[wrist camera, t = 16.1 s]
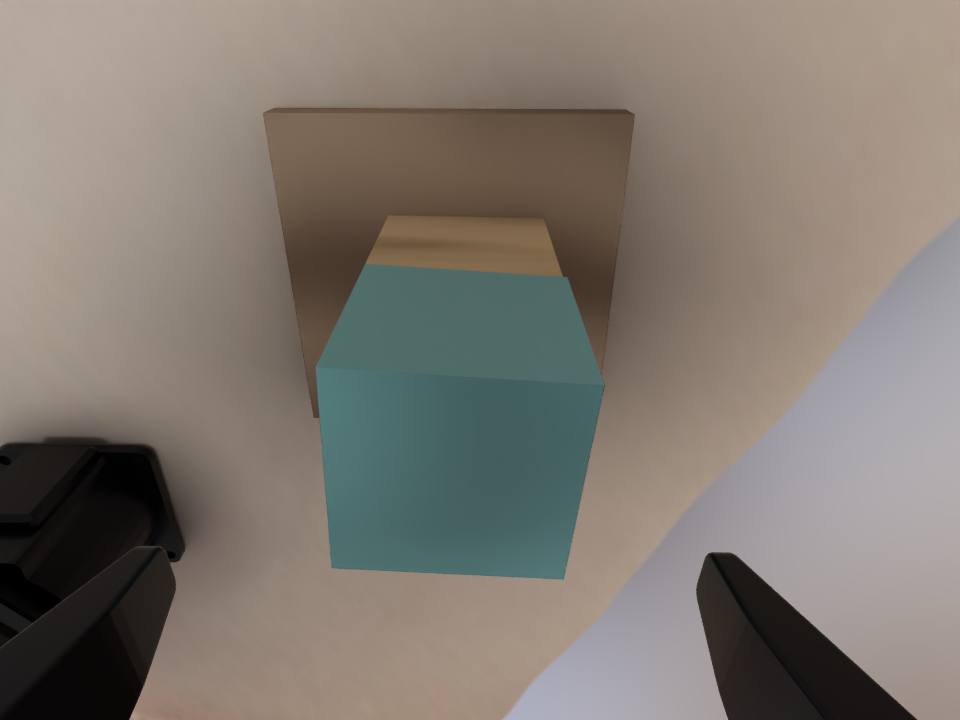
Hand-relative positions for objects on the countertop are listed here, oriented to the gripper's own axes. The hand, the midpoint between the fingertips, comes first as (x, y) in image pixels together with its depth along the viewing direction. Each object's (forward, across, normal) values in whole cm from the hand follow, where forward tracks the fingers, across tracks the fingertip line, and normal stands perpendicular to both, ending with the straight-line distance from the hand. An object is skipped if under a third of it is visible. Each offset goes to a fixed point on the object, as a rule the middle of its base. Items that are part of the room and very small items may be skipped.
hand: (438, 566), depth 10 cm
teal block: (+7, 0, 0) cm, 7 cm away
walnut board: (+14, 0, 0) cm, 14 cm away
